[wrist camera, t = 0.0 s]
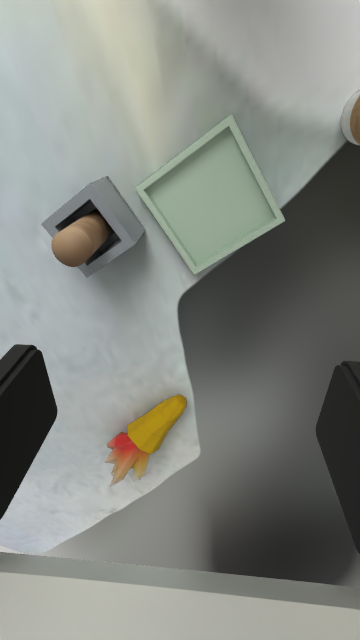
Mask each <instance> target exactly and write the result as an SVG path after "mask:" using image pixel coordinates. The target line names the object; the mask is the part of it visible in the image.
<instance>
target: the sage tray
mask: <svg viewBox="0 0 360 640" xmlns="http://www.w3.org/2000/svg"><path fill="white" fill-rule="evenodd" d="M135 189H136V191H137V192H138V194H139V195H140V197H141V198H142V199H143V201H144V202H145V204H146V205H147V207H148V208H149V210H150V211H151V213H152V214H153V215H154V217H155V218H156V220H157V221H158V223H159V224H160V226H161V227H162V229H163V230H164V231H165V233H166V234H167V236H168V237H169V239H170V240H171V242H172V243H173V245H174V246H175V247H176V249H177V250H178V252H179V253H180V255H181V256H182V258H183V259H184V261H185V262H186V263H187V265H188V266H189V268H190V269H191V271H192V272H193V274H194V275H195V274H197V273H198V272H200V271H202V270H203V269H205V268H207V267H208V266H210V265H212V264H213V263H215V262H217V261H218V260H220V259H222V258H224V257H225V256H227V255H229V254H230V253H232V252H234V251H235V250H237V249H239V248H240V247H242V246H244V245H245V244H247V243H249V242H250V241H252V240H254V239H255V238H257V237H259V236H261V235H262V234H264V233H266V232H267V231H269V230H271V229H272V228H274V227H276V226H277V225H279V224H281V223H282V222H284V221H285V219H284V217H283V215H282V213H281V211H280V209H279V207H278V205H277V203H276V201H275V199H274V197H273V195H272V193H271V191H270V189H269V187H268V185H267V183H266V181H265V179H264V177H263V175H262V173H261V171H260V169H259V167H258V165H257V164H256V162H255V160H254V158H253V156H252V154H251V152H250V150H249V148H248V146H247V144H246V142H245V140H244V138H243V136H242V134H241V132H240V130H239V128H238V126H237V124H236V122H235V120H234V118H233V116H232V114H231V115H229V116H228V117H227V118H225V119H224V120H223V121H221V122H220V123H219V124H218V125H216V126H215V127H214V128H212V129H211V130H210V131H208V132H207V133H206V134H204V135H203V136H202V137H201V138H199V139H198V140H197V141H195V142H194V143H193V144H191V145H190V146H189V147H188V148H186V149H185V150H184V151H182V152H181V153H180V154H178V155H177V156H176V157H174V158H173V159H172V160H171V161H169V162H168V163H167V164H165V165H164V166H163V167H161V168H160V169H159V170H158V171H156V172H155V173H154V174H152V175H151V176H150V177H148V178H147V179H146V180H145V181H143V182H142V183H141V184H139V185H138V186H137V187H135Z"/></svg>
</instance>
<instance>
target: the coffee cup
mask: <svg viewBox="0 0 360 640" xmlns="http://www.w3.org/2000/svg"><path fill="white" fill-rule="evenodd" d="M341 128H342V132H343V134H344V136H345V138H346V139H347V140H348V141H349V142H352V143H353V144H356V145H360V90H359V91H357V92H356V93H355V94H354V95H353V96H352V97H351V98H350V100H349V101H348V103H347V104H346V106H345V108H344V111H343V114H342V118H341Z"/></svg>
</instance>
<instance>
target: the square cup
mask: <svg viewBox="0 0 360 640" xmlns="http://www.w3.org/2000/svg"><path fill="white" fill-rule="evenodd" d="M96 208H97V209H98V210H99V211H100V213H101V214H102V215H103V217H104V218H105V219H106V221H107V222H108V223H109V225H110V226H111V227H112V229H113V230H114V231H115V232H114V233H113V234H112V235H111V236H110V237H109V238H108V239H107V240H106V241H105V242H104V243H103V244H102V245H101V246H100V247H99V248H98V249H97V250H96V251H95V252H94V253H93V254H92V255H91V256H90V257H89V258H88V259H87V260H86V261H85V262H84V263H83V264H82V265H80V266H77V267H78V268H79V269H80V270H81V271H82V273H83V274H84V275H85V276H86V277H88V276H90V275H91V274H93V273H94V272H96V271H97V270H99V269H100V268H101V267H103V266H104V265H106V264H107V263H109V262H110V261H112V260H113V259H115V258H116V257H117V256H119V255H120V254H122V253H123V252H125V251H126V250H128V249H129V248H131V247H132V246H133V245H135V244H136V243H137V241H138V240H139V238H140V237H141V235H142V234H143V232H144V231H145V228H144V227H143V225H142V224H141V223H140V221H139V220H138V218H137V217H136V216H135V214H134V213H133V211H132V210H131V209H130V207H129V206H128V204H127V203H126V202H125V200H124V199H123V197H122V196H121V195H120V193H119V192H118V190H117V189H116V188H115V186H114V185H113V183H112V182H111V180H110V179H109V178H108V176H107V177H105V178H102V179H100V180H97V181H95V182H92V183H90V184H89V185H88V186H87V187H85V188H84V189H83V190H82V191H80V192H79V193H78V194H77V195H76V196H74V197H73V198H72V199H71V200H70V201H68V202H67V203H66V204H65V205H63V206H62V207H61V208H60V209H59V210H57V211H56V212H55V213H54V214H53V215H51V216H50V217H49V218H48V219H47V220H45V221H44V222H43V223H42V224H41V225H42V226H43V227H44V228H45V229H46V230H47V232H48V233H49V234H50V235H51V236H52V237H53V238H54V236H55V235H56V234H57V233H58V232H60V231H62V230H63V229H65V228H66V227H68V226H69V225H71V224H72V223H74V222H75V221H77V220H79V219H80V218H82V217H83V216H85V215H86V214H88V213H89V212H91V211H93V210H94V209H96Z"/></svg>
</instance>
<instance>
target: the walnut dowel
mask: <svg viewBox="0 0 360 640" xmlns="http://www.w3.org/2000/svg"><path fill="white" fill-rule="evenodd" d="M114 232H115V231H114V230H113V229H112V227H111V226H110V225H109V223H108V222H107V221H106V219H105V218H104V217H103V215H102V214H101V213H100V211H99V210H98V209H97V208H96V209H94V210H93V211H91V212H89V213H88V214H86V215H85V216H83V217H82V218H80V219H79V220H77V221H75V222H74V223H72V224H71V225H69V226H68V227H66V228H65V229H63V230H62V231H60V232H58V233H57V234H56V235H55V236H54V238H53V240H52V251H53V253H54V255H55V257H56V258H57V259H58V260H59V261H60V262H61V263H63V264H65V265H67V266H70V267H77V266H80V265H82V264H83V263H84V262H85V261H86V260H87V259H88V258H89V257H90V256H91V255H92V254H93V253H94V252H95V251H96V250H97V249H98V248H99V247H100V246H101V245H102V244H103V243H104V242H105V241H106V240H107V239H108V238H109V237H110V236H111V235H112V234H113V233H114Z"/></svg>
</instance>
